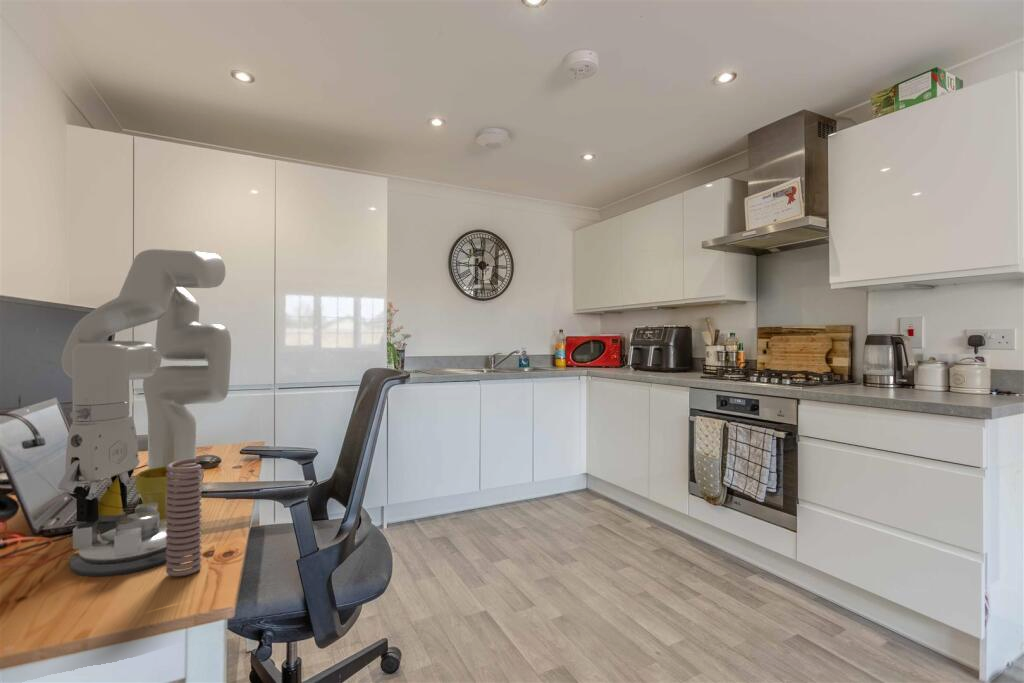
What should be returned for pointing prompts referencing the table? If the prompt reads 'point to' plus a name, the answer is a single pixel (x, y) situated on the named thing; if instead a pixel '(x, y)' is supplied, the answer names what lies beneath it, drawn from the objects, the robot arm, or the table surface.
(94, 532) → the steel lathe chuck
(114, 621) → the table surface
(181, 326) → the robot arm
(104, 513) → the stepped yellow cone
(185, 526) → the coil
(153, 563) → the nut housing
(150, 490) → the plant pot
